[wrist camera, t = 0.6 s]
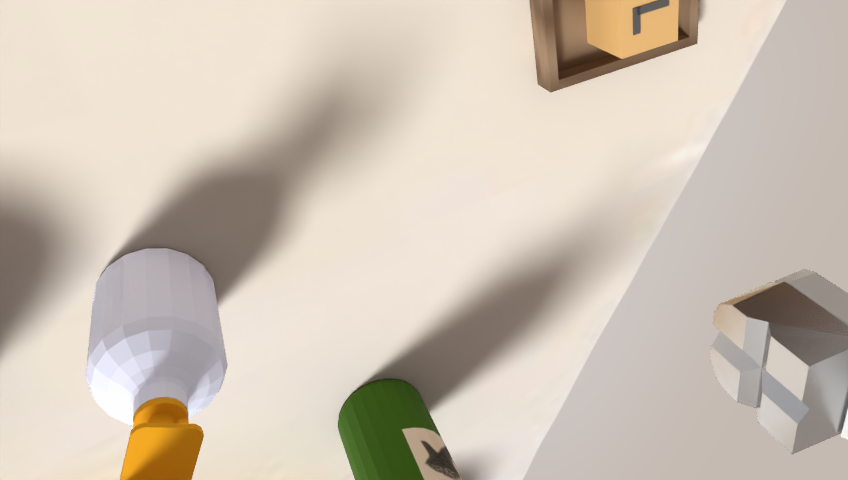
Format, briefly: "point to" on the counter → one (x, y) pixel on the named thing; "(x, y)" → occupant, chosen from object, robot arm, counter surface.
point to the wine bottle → (393, 435)
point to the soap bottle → (156, 357)
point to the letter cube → (631, 25)
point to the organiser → (578, 60)
